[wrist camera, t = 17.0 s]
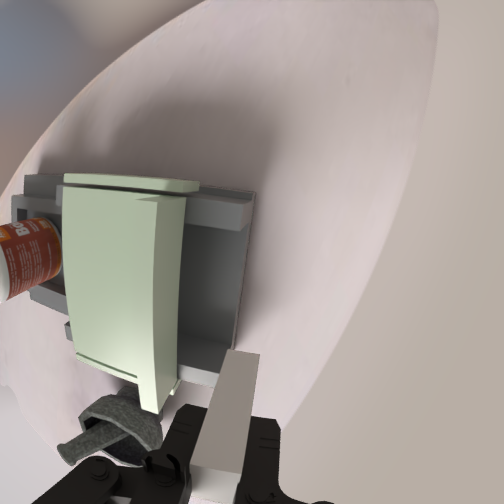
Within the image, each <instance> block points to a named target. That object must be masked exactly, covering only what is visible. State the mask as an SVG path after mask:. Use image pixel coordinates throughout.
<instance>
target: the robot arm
mask: <svg viewBox="0 0 504 504" xmlns="http://www.w3.org/2000/svg"><path fill="white" fill-rule="evenodd" d="M259 357H260V354H253V353H247V352H242V351H236V350H231V349H228V350H227V353H226V356H225V359H224V362H223V365H222V368H221V371H220V374H219V377H218V380H217V383H216V386H215V389H214V392H213V395H212V398H211V401H210V404H209V407H208V408H203V407H199V406H195V405H190V404H185V405H184V406H182V407H181V408H180V409H179V410H177V412H176V415H175V417H174V419H173V422H172V423H171V426H170V428H169V430H168V432H167V435H166V437H165V439H164V441H163V443H162V446H161V448H160V449H156V450H151V451H149V452H147V453H145V454H144V455H143V457H142V458H141V462H142V465H143V467H125V466H117V465H116V464H115V463H114V462H113V461H111V460H110V459H108V458H106V457H103V456H91V457H88V458H87V459H85V460H83V461H82V462H81V463H80V464H79V465H78V466H76V467H75V468H74V469H73V470H72V471H71V472H69V473H68V474H67V475H66V476H65V477H63V478H62V479H61V480H60V481H59V482H57V484H55V485H54V486H53V487H51V488H50V489H49V490H48V491H47V492H45V493H44V494H43V495H42V496H40V497H39V498H38V499H37V500H35V501H34V502H33V503H32V504H188V502H189V499H190V496H191V497H195V498H199V499H204V500H208V501H213V502H218V503H224V504H308V503H304V502H301V501H298V500H294V499H292V498H290V497H288V496H287V495H285V494H284V493H283V491H282V490H281V489H280V486H279V483H278V474H279V455H280V433H281V429H280V427H279V425H278V423H277V421H276V419H269V418H261V417H255V416H251V412H252V405H253V399H254V392H255V385H256V378H257V371H258V364H259ZM312 504H334V503H331V502H327V501H318V502H315V503H312Z"/></svg>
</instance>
